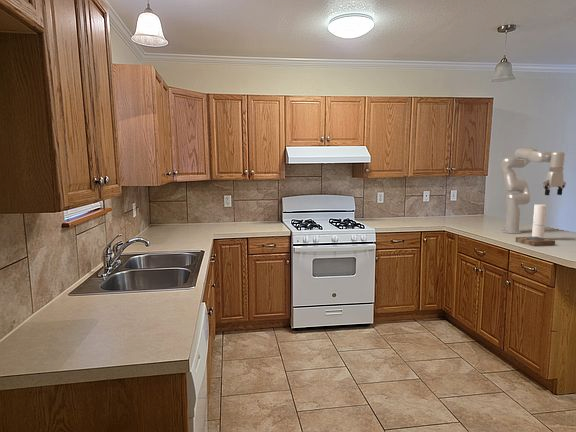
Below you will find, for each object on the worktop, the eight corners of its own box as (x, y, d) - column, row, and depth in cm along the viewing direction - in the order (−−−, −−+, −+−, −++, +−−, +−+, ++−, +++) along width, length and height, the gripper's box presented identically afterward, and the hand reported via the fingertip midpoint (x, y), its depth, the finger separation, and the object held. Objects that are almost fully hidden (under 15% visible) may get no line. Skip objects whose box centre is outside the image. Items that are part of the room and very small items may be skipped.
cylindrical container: (538, 238, 272) (541, 204, 269) (545, 240, 265) (548, 205, 262) (529, 238, 272) (532, 204, 268) (536, 240, 265) (538, 205, 261)
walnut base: (515, 241, 261) (515, 236, 261) (535, 240, 264) (536, 235, 263) (533, 246, 246) (534, 241, 245) (554, 245, 248) (555, 240, 248)
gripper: (562, 169, 257) (559, 194, 260) (540, 170, 255) (537, 194, 258) (572, 170, 250) (568, 195, 253) (549, 170, 248) (546, 196, 250)
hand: (553, 195), depth 255 cm, fingers open, 9 cm apart
